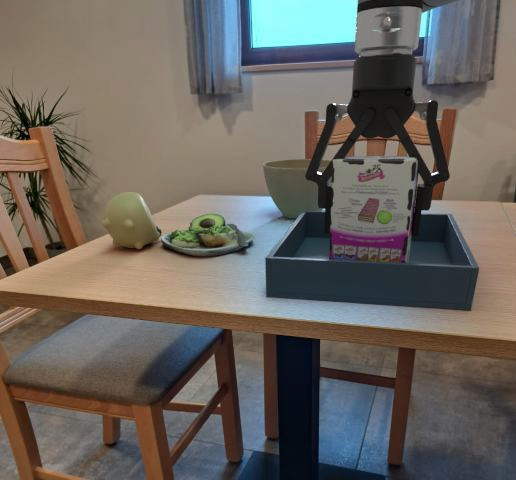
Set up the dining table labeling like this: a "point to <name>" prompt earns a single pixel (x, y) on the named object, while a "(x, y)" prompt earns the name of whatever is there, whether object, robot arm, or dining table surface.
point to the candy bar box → (372, 208)
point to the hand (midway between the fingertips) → (370, 232)
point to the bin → (375, 268)
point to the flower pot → (292, 186)
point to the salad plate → (207, 237)
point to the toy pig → (130, 221)
